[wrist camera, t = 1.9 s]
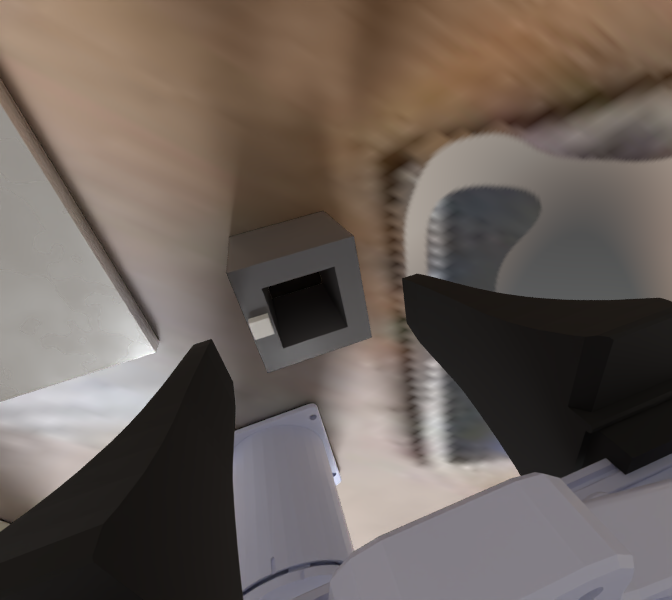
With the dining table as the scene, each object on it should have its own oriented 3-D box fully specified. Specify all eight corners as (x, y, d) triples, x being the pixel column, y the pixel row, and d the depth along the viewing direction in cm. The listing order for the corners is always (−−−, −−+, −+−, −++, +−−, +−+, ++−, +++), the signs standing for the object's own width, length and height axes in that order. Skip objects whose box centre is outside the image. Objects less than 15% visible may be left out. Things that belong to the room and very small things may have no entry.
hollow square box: (341, 292, 19) (375, 342, 14) (260, 318, 18) (268, 378, 14) (323, 210, 17) (357, 238, 12) (229, 236, 16) (225, 277, 11)
